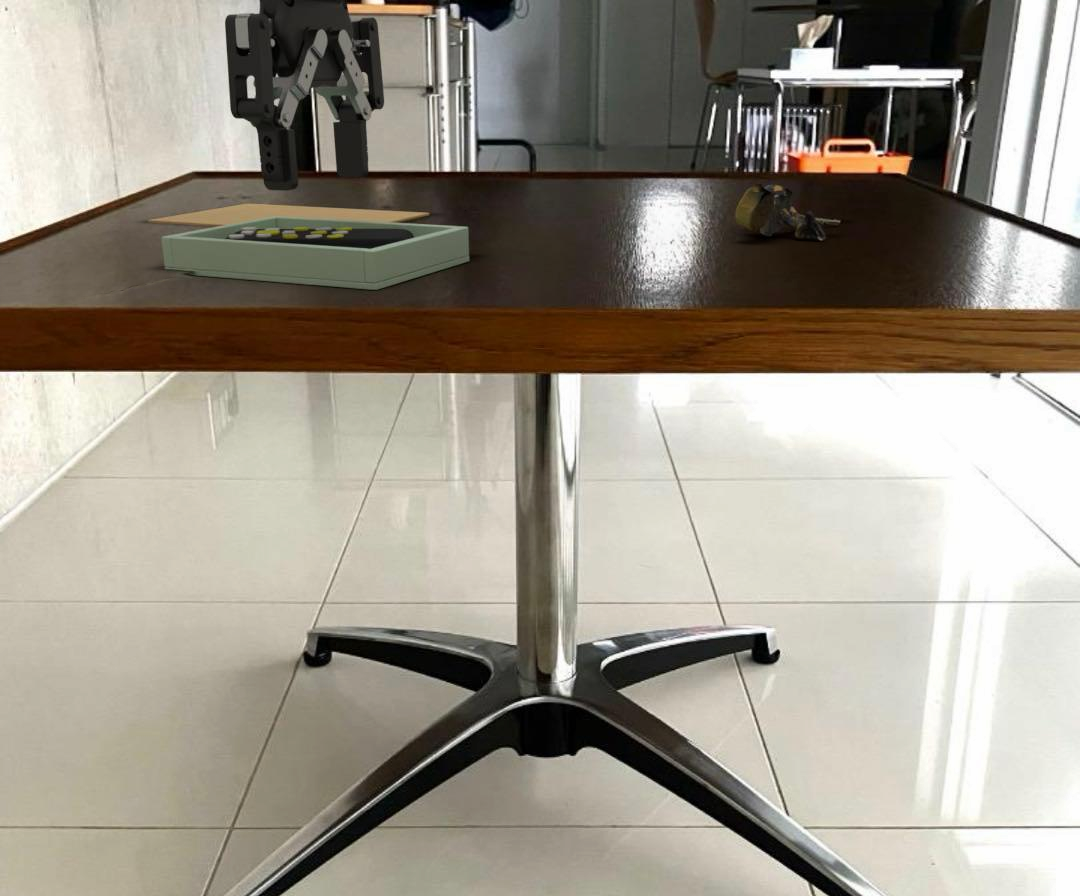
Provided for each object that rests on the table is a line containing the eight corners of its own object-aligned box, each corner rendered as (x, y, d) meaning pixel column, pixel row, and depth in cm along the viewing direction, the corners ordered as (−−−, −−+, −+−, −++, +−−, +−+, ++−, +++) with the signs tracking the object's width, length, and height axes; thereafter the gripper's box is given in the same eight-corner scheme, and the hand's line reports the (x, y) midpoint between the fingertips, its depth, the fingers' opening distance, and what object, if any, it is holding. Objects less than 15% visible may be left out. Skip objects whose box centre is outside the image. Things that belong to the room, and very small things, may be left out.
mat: (148, 225, 106) (147, 220, 105) (247, 208, 117) (247, 203, 117) (344, 238, 98) (344, 231, 98) (429, 218, 110) (429, 212, 110)
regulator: (801, 230, 107) (700, 214, 96) (822, 186, 105) (721, 166, 94) (869, 267, 103) (771, 256, 92) (891, 223, 101) (794, 206, 90)
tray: (164, 273, 82) (160, 236, 81) (276, 248, 93) (273, 215, 92) (376, 290, 76) (374, 251, 75) (469, 261, 87) (468, 226, 86)
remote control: (407, 267, 81) (406, 237, 81) (217, 268, 81) (214, 237, 81) (417, 254, 87) (416, 225, 86) (239, 254, 87) (236, 225, 86)
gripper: (312, -72, 84) (330, 173, 90) (175, -93, 72) (206, 192, 78) (407, -78, 81) (419, 175, 87) (280, -101, 69) (304, 196, 75)
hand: (318, 183), depth 82 cm, fingers open, 8 cm apart
